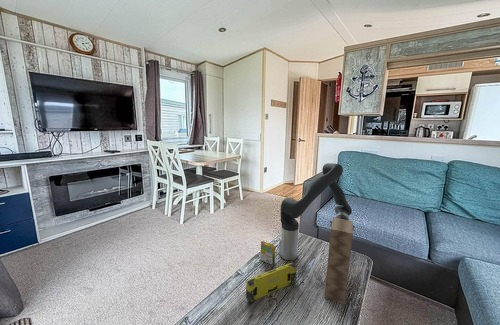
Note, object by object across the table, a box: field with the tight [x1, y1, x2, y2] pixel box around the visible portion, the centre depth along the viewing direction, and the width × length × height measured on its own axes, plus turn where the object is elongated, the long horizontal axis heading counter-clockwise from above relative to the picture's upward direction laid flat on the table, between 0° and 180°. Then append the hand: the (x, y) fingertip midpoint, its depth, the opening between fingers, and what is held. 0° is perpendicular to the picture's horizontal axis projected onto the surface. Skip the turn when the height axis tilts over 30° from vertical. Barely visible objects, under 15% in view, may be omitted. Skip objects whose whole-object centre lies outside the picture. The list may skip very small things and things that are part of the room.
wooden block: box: [323, 217, 354, 306], centre depth 91 cm, size 8×12×32 cm, turn 155°
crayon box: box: [259, 240, 276, 266], centre depth 113 cm, size 7×3×12 cm, turn 59°
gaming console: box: [245, 262, 298, 303], centre depth 92 cm, size 26×4×10 cm, turn 119°
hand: (341, 232), depth 115 cm, fingers closed on paddle, 3 cm apart
